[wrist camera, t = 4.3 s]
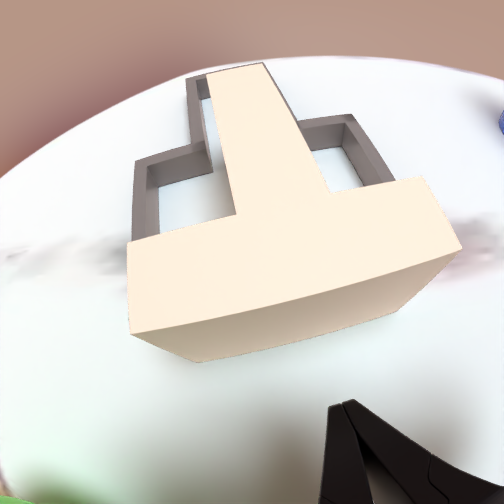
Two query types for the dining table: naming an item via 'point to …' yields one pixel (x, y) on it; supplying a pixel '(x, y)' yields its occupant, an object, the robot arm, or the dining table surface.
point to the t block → (281, 243)
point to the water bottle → (502, 122)
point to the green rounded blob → (12, 500)
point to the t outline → (199, 162)
